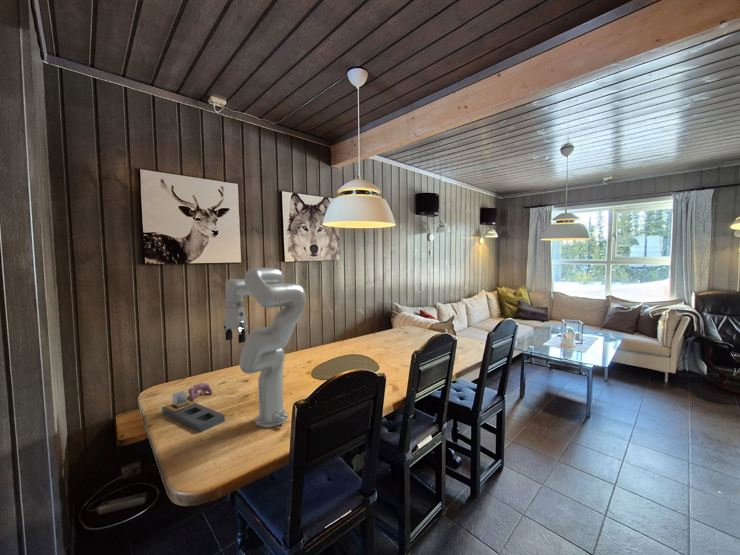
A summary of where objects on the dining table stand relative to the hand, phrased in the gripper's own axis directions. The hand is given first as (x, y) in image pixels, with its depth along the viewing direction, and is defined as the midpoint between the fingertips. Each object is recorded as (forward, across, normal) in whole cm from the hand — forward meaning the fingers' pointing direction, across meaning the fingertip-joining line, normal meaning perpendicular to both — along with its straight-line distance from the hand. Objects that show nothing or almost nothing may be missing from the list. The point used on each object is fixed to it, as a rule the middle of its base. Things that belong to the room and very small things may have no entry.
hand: (235, 340), depth 147 cm
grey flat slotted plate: (+28, +1, +20) cm, 35 cm away
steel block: (+28, +11, +20) cm, 37 cm away
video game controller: (+29, +19, +7) cm, 35 cm away
